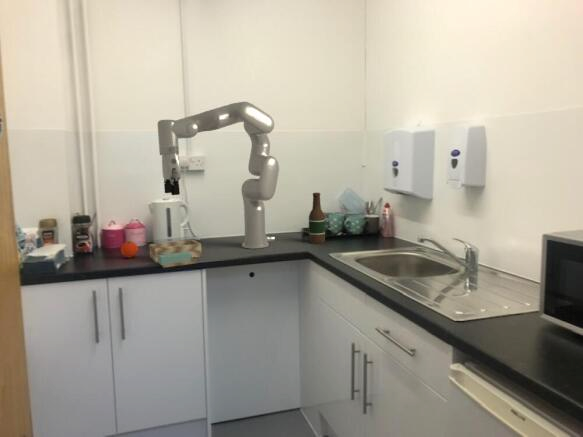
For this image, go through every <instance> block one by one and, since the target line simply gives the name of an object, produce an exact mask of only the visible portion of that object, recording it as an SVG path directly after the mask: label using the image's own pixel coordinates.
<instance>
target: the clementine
mask: <svg viewBox="0 0 583 437" xmlns="http://www.w3.org/2000/svg"><path fill="white" fill-rule="evenodd" d="M138 250H139V248H138V245H137V244H136V243H135V242H133V241H126V242H124V243H123V244H122V245H121V247H120V252H121V255H123V257H125V258H128V259H133V257H135V256H136V255H137V253H138V252H139V251H138Z"/></svg>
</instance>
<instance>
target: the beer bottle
mask: <svg viewBox="0 0 583 437" xmlns="http://www.w3.org/2000/svg"><path fill="white" fill-rule="evenodd" d="M325 241H326V216H325V213H324V212H323V210H322V205H321V193H320V192H313V193H312V209H311V211H310V212H309V215H308V242H309V243H310V244H314V245H315V244H317V245H319V244H324V243H325Z"/></svg>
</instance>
